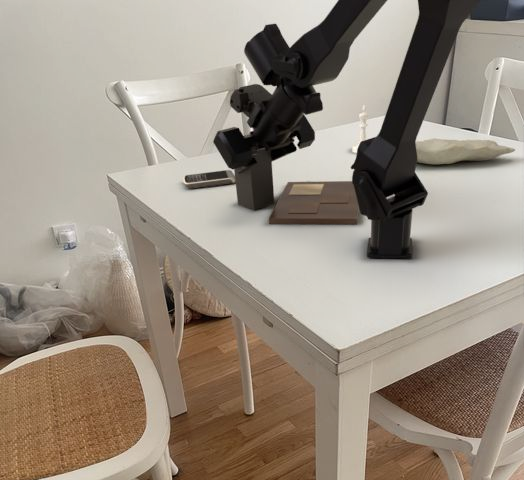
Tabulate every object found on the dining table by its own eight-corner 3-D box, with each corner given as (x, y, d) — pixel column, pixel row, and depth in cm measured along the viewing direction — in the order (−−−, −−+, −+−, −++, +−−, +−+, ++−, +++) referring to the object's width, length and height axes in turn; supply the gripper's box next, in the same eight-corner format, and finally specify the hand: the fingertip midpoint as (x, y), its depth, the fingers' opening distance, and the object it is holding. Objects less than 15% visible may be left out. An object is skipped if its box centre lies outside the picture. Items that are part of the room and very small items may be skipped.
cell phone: (183, 182, 117) (182, 175, 116) (233, 175, 118) (233, 169, 117) (184, 190, 112) (183, 183, 111) (237, 183, 113) (236, 177, 112)
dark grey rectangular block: (274, 203, 102) (270, 136, 95) (254, 210, 99) (248, 143, 92) (257, 197, 105) (252, 133, 98) (237, 204, 103) (230, 139, 96)
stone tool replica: (390, 166, 110) (522, 163, 104) (391, 139, 108) (526, 134, 103) (390, 164, 123) (506, 161, 118) (391, 140, 122) (510, 136, 116)
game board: (356, 224, 90) (356, 218, 89) (269, 224, 93) (268, 218, 93) (363, 186, 106) (363, 180, 105) (288, 186, 109) (287, 181, 109)
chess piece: (350, 153, 126) (351, 107, 120) (353, 147, 130) (354, 102, 124) (371, 153, 124) (373, 106, 119) (374, 147, 128) (376, 102, 123)
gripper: (301, 59, 91) (265, 121, 104) (212, 76, 82) (184, 142, 95) (335, 114, 90) (294, 169, 104) (248, 138, 81) (215, 195, 95)
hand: (248, 167), depth 99 cm, fingers open, 5 cm apart
